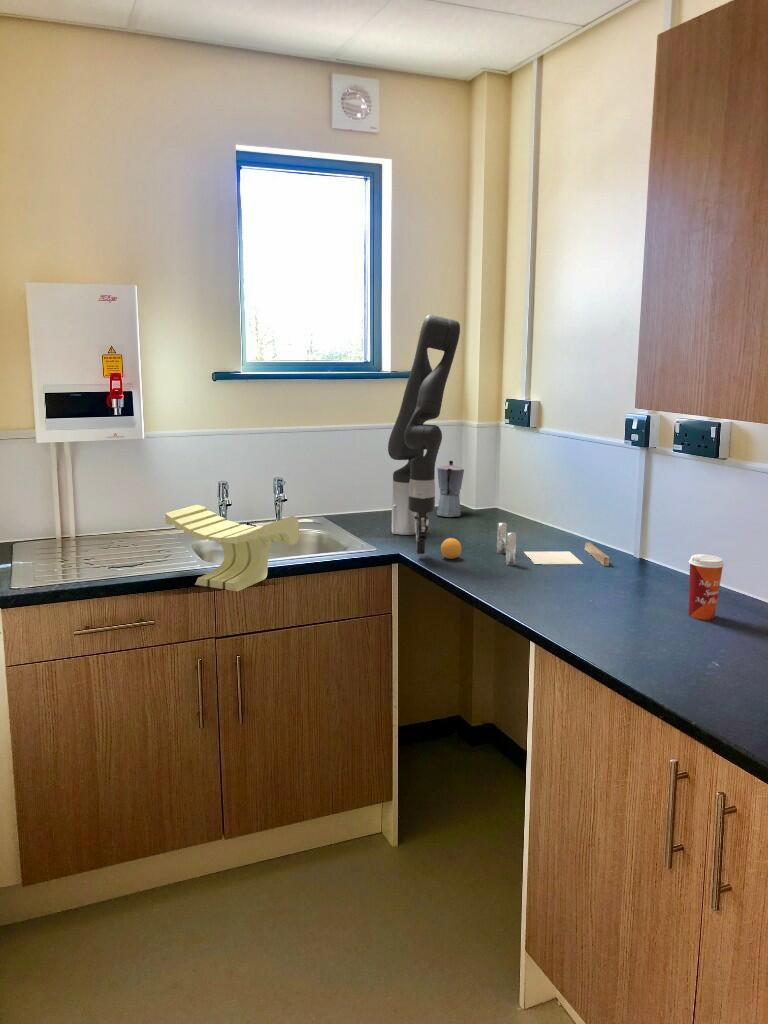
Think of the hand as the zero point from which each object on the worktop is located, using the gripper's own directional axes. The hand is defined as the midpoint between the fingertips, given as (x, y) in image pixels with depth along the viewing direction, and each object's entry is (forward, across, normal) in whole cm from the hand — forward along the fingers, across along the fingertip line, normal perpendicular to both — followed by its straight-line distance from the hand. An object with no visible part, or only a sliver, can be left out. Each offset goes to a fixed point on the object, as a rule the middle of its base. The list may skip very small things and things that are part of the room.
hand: (420, 553), depth 241 cm
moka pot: (+2, -60, +16) cm, 62 cm away
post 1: (+2, -7, +25) cm, 26 cm away
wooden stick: (+2, 0, +52) cm, 52 cm away
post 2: (+2, +6, +25) cm, 26 cm away
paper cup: (+2, +52, +60) cm, 80 cm away
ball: (-1, 0, +9) cm, 9 cm away
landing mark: (+2, 0, +39) cm, 39 cm away
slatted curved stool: (+2, +21, -51) cm, 55 cm away
